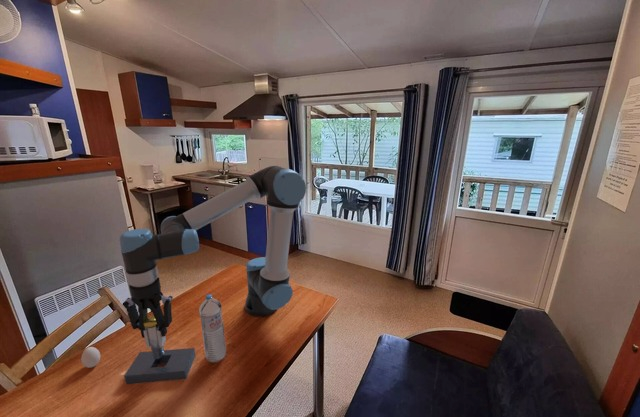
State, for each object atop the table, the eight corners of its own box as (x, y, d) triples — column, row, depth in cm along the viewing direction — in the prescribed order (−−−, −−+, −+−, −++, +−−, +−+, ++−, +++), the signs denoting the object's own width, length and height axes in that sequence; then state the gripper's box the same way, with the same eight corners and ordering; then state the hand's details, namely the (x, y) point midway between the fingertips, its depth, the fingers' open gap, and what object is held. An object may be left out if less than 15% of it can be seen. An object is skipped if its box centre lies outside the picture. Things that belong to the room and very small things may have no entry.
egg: (85, 364, 88) (79, 346, 86) (102, 357, 91) (97, 340, 89) (83, 374, 84) (77, 356, 82) (101, 367, 87) (96, 349, 85)
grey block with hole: (195, 355, 92) (194, 347, 91) (186, 378, 84) (184, 370, 82) (141, 359, 90) (139, 352, 89) (126, 384, 81) (123, 375, 80)
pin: (169, 348, 87) (163, 314, 83) (162, 360, 83) (156, 324, 79) (154, 349, 87) (147, 315, 83) (147, 361, 82) (139, 325, 78)
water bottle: (207, 366, 88) (197, 304, 81) (205, 351, 94) (196, 292, 86) (227, 359, 91) (221, 298, 84) (225, 345, 97) (218, 287, 89)
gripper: (178, 272, 81) (187, 333, 88) (122, 274, 79) (136, 336, 86) (167, 286, 74) (178, 351, 81) (105, 289, 72) (122, 355, 79)
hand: (156, 343), depth 83 cm, fingers closed on pin, 3 cm apart
